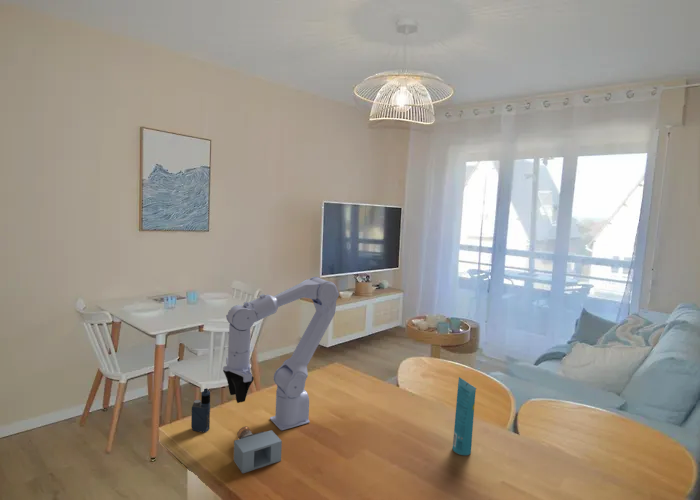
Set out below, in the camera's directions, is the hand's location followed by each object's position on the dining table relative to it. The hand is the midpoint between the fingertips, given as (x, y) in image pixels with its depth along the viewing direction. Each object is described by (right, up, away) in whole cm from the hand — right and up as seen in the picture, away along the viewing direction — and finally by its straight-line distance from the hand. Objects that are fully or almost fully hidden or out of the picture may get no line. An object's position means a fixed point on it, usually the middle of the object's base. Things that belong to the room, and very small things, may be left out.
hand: (237, 397), depth 114 cm
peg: (+5, -10, -6) cm, 13 cm away
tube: (+61, -14, -2) cm, 63 cm away
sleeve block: (+8, -12, -11) cm, 18 cm away
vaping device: (-11, -10, +2) cm, 15 cm away
